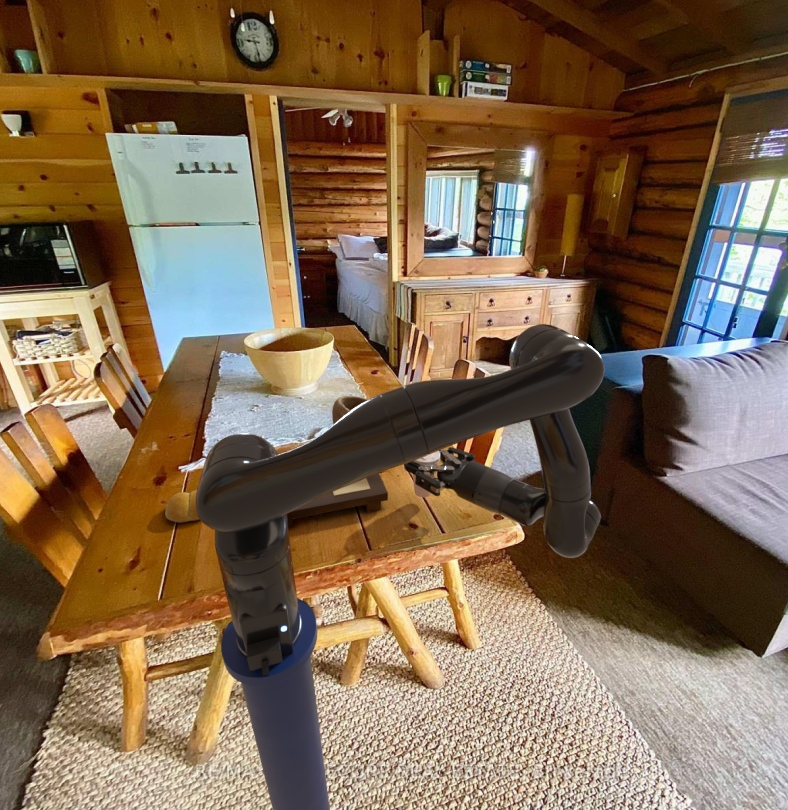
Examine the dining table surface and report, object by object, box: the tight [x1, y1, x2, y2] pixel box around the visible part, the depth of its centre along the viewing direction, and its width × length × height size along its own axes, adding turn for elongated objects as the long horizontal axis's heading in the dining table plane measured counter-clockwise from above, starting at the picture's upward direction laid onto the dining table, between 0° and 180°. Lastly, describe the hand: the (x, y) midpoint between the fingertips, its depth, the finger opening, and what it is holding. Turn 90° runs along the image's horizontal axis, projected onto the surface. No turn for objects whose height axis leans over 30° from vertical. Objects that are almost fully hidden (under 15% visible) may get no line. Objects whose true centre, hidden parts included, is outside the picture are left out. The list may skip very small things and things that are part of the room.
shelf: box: [287, 473, 389, 529], centre depth 93 cm, size 12×24×4 cm, turn 109°
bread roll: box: [164, 489, 200, 523], centre depth 90 cm, size 8×9×4 cm
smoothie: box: [412, 451, 441, 498], centre depth 91 cm, size 6×6×14 cm
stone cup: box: [331, 395, 368, 425], centre depth 108 cm, size 15×12×15 cm
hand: (415, 456), depth 92 cm, fingers closed on smoothie, 6 cm apart
